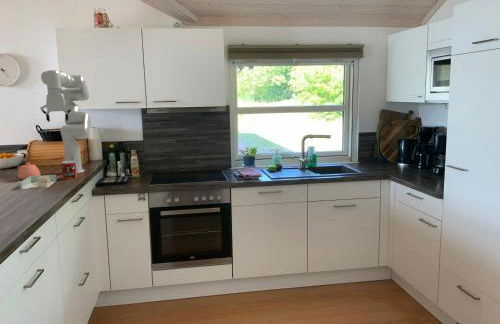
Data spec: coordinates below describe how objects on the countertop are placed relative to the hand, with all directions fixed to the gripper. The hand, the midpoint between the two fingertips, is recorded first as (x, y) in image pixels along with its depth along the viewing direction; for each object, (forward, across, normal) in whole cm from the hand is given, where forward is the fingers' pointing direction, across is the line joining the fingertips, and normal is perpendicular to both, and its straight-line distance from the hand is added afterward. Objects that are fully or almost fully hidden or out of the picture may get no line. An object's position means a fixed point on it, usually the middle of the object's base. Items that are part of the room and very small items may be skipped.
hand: (57, 121), depth 243 cm
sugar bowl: (+36, +22, -15) cm, 45 cm away
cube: (+35, +8, +16) cm, 40 cm away
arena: (+36, +12, +10) cm, 39 cm away
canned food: (+36, -3, -2) cm, 36 cm away
